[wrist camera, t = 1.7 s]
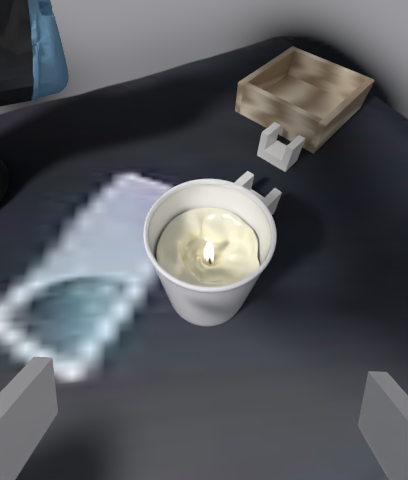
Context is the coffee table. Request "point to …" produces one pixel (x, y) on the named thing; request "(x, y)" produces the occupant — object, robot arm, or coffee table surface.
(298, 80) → the square wooden tray
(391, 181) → the coffee table surface
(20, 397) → the robot arm
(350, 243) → the coffee table surface
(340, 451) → the coffee table surface
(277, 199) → the clips
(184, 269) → the candle holder
